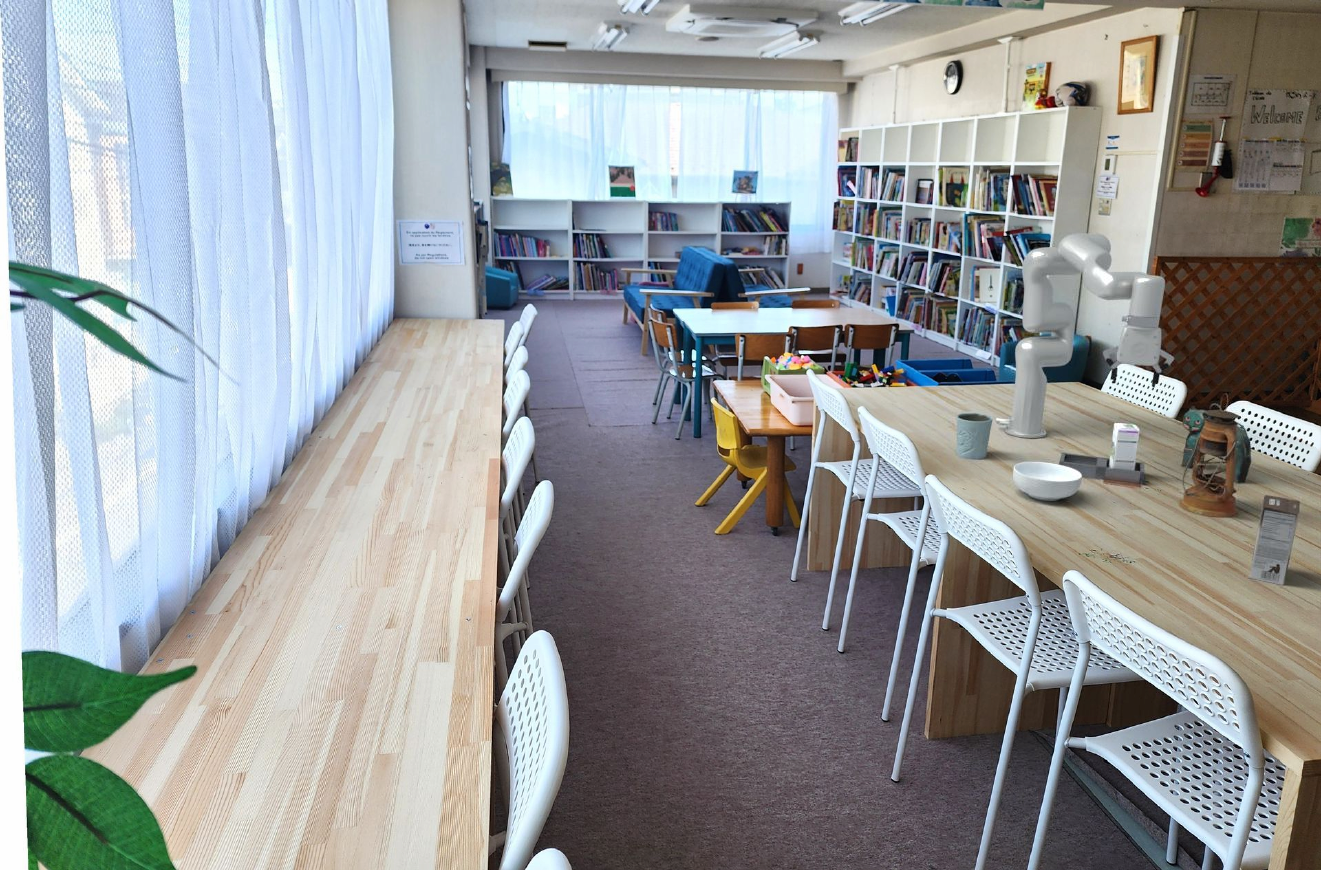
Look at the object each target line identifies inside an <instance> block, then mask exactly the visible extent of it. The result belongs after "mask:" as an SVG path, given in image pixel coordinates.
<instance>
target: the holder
mask: <svg viewBox="0 0 1321 870" xmlns="http://www.w3.org/2000/svg"><path fill="white" fill-rule="evenodd" d="M1109 461H1110V457H1100V456H1093V455H1085V454H1077V453H1068V452H1061V455H1060V459H1059V463H1058V465H1062V466H1066V467H1069V468H1072V469H1075V470H1077V471H1078V472H1080V473H1081V475H1082V478H1083V479H1084V478H1087V479H1094V480H1099V479H1102V480H1101V481H1103V482H1102V484H1104V483H1107V484H1106V485H1111V484H1112V486H1113V485H1114V486H1121V487H1128V488H1135V489H1140V488H1141V486H1144V478H1145V472H1146V471H1145V462H1140V461H1136V463H1135V471H1133V470H1125V469H1117V468H1109Z"/></svg>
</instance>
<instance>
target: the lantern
mask: <svg viewBox="0 0 1321 870" xmlns="http://www.w3.org/2000/svg"><path fill="white" fill-rule="evenodd" d="M1225 395H1226V397H1227V400H1226V401H1227V402H1226V406H1225V410H1223V409H1222V404H1223V403H1222V402H1223V398H1224V396H1225ZM1219 405H1220V408H1219V409H1209V410H1206V412H1205V413H1206V414H1207V415H1208V419H1206V420H1205V425H1204V427H1203V429H1202V431H1201V433H1200V435H1199V437H1198V439H1197V442H1196V446H1195V449H1194V451H1193V454H1192V456H1191V458H1190V460H1189V462H1188V464H1187V466H1186V467H1185V469H1184V471H1183V475H1182V488H1183V491H1184V492H1183V498H1182V499H1180V501H1179V503H1178V506H1179V507H1180V508H1181V509H1183V510H1185V511H1186V512H1190V513H1193V514H1196V515H1200V516H1206V517H1213V518H1215V517H1216V518H1231V517H1235V516H1236V515H1238V511H1237V508H1236V507H1235V505H1236V497H1235V496H1234V495H1233V494H1236V493H1237V491H1238V490H1237V489H1236V488H1234V485H1235V482H1234V475H1235V466H1236V464H1235V457H1236V441H1238V439H1237V438H1236V434H1237V430H1236V428H1237V425H1238V424H1237V422H1238V421H1236V419H1239V418H1240V415H1238V414H1237V413H1235V412H1231V411H1227V409H1228V405H1229V397H1228V394H1227V393H1223V395H1222V397H1221V399H1220V404H1219ZM1235 421H1236V422H1235ZM1197 446H1198V450H1197V455H1196V456H1195V458H1194V459H1193V464H1194V465H1193V466H1194V467H1193V468H1191V469H1192V474H1191V476H1192V481H1193V484H1194V486H1191V487H1188V488H1185V476H1186V473H1187V470H1188V469H1189V468H1188V466H1189V464H1190V462H1191V460H1192V458H1193V457H1194V454H1195V451H1196V449H1197ZM1206 455H1208V456H1213V457H1211V458H1209V459H1208V460H1205V457H1206ZM1216 458H1218V459H1219V460H1218V461H1217V460H1216V461H1215V459H1216ZM1212 460H1214V461H1212ZM1220 460H1221V461H1220ZM1194 461H1195V462H1194ZM1216 464H1218V465H1217V467H1216V468H1215V470H1214V472H1210V473H1204V469H1205V470H1206V469H1207V465H1216ZM1222 464H1225V469H1224V470H1220V471H1219V470H1218V469H1219V467H1220V466H1221V465H1222ZM1224 472H1225V478H1224V477H1222V476H1218V474H1221V473H1224Z"/></svg>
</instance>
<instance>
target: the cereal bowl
mask: <svg viewBox="0 0 1321 870" xmlns="http://www.w3.org/2000/svg"><path fill="white" fill-rule="evenodd" d="M1082 478H1083V477H1082V475H1081V473H1080V472H1078V471H1077V470H1075V469H1072V468H1069V467H1066V466H1062V465H1059V463H1058V464H1057V463H1050V462H1045V461H1044V462H1043V461H1042V462H1041V461H1022V462H1019V463H1016V464H1014V466H1013V471H1012V480H1013V482H1014V484H1015V485H1016V487H1017V488H1018V489H1019V490H1021V491H1022V492H1024V493H1025V494H1027V495H1028V497H1031V498H1033V499H1036V500H1040V501H1045V502H1047V501H1050V502H1051V501H1052V502H1053V501H1054V502H1055V501H1058V500H1060V499H1065V498H1068V497H1070V496H1073V495H1074V494H1076V493H1077V492H1078V491H1079V489H1080V486H1081V484H1082Z"/></svg>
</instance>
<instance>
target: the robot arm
mask: <svg viewBox="0 0 1321 870" xmlns="http://www.w3.org/2000/svg"><path fill="white" fill-rule="evenodd" d="M1111 249H1112V245H1111V242H1110V240H1109V239H1108V237H1107V236H1105V235H1104V234H1101V233H1072V234H1068V235H1066V236H1065V237H1063V238H1062V239H1061V240H1060V242H1059V243H1058V247H1057V246H1053V247H1052V246H1050V247H1047V246H1046V247H1038V248H1034V249H1032V250H1031V251H1029V252H1028V253H1026V256H1025V257H1024V259H1023V262H1022V266H1021V268H1022V269H1021V273H1022V280H1023V288H1024V289H1023V292H1024V293H1023V303H1022V327H1023V329H1024V331H1026V332H1029V333H1034V334H1035V333H1036V334H1037V333H1039V334H1040V333H1041V334H1042V333H1043V334H1044V333H1051V335H1050V336H1032V337H1025V338H1022V339H1021V340H1020V341H1018V343H1017V344H1016V346H1015V352H1014V354H1015V355H1014V357H1015V381H1014V391H1013V399H1012V408H1011V416H1010V417H1007V418H1003V417H1002V418H1001V417H997V418H996V424H998V425H999V426H1005V428H1004V432H1005V433H1006V434H1008V435H1010V436H1013V437H1017V438H1018V437H1019V438H1025V439H1041V438H1044V437H1046V436H1047V431H1046V430H1045V428H1043V419H1044V410H1045V403H1046V393H1047V388H1048V387H1047V385H1048V379H1047V376H1046V374H1045V373H1044V370H1043V368H1045V367H1046V368H1047V367H1062V366H1066V364H1068V363H1069V362H1070V361H1071V359H1072V356H1073V350H1074V337H1075V325H1076V324H1075V322H1076V317H1075V313H1074V310H1073V308H1072V306H1071V305H1070V304H1068V303H1066V302H1063V301H1060V302H1059V301H1053V300H1054V288H1053V284H1052V282H1051V280H1050V279H1049V277H1048V276H1074V275H1080V274H1082V280H1083V284H1084V287H1085V288H1086V289H1087V290H1088V291H1089V292H1091V293H1092V294H1093V295H1095V296H1096V297H1098V298H1100V299H1103V300H1106V301H1115V300H1116V301H1118V300H1119V301H1120V300H1121V301H1122V300H1126V301H1128V300H1129V301H1130V302H1129V308H1128V314H1127V315H1126V316H1122V317H1121V322H1124V323H1126V325H1124V326H1123V327H1122V331H1121V333H1120V338H1119V343H1118V345H1117V346H1114V347H1111V348H1109V349H1108V348H1107V349H1106V350H1103V352H1102V355H1103V357H1104V360H1105V362H1106V363H1107V365H1108V366H1109V367H1110V368H1111V374H1110V378H1109V379H1110V381H1111V380H1112V384H1117V383H1116V382H1117V377H1118V369H1119V368H1118V367H1119V366H1120V365H1121V364H1124V365H1132V366H1133V365H1134V366H1147V367H1148V366H1149V367H1152V368H1153V369H1154V371H1153V373H1152V374H1153V375H1152V380H1151V381H1152V382H1151V387H1152V388H1156V385H1159V381H1160V375H1161V373H1162V372H1163V371H1164V370H1166V369H1167V368H1168V367H1170V365H1171V364H1172V362H1173V361H1174V360H1175V357H1174V355H1173V356H1172V355H1171V354H1169V353H1168V352H1167V351H1165V350H1163V349H1161V348H1162V346H1161V345H1162V329H1161V327H1159V323H1160V317H1161V312H1162V306H1163V305H1162V304H1163V300H1164V292H1165V285H1166V281H1165V278H1164V277H1162V276H1159V275H1154V274H1153V275H1151V274H1148V273H1145V272H1142V271H1109V269H1110V267H1111V265H1112V261H1113V260H1112V259H1113V258H1112V255H1111ZM1114 353H1116V359H1115V361H1114V360H1113V359H1112V358H1111V356H1110V355H1111V354H1114ZM1160 356H1161V358H1162V357H1163V358H1165V359H1166V360H1165V362H1164V363H1162V364H1159V361H1160Z"/></svg>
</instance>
